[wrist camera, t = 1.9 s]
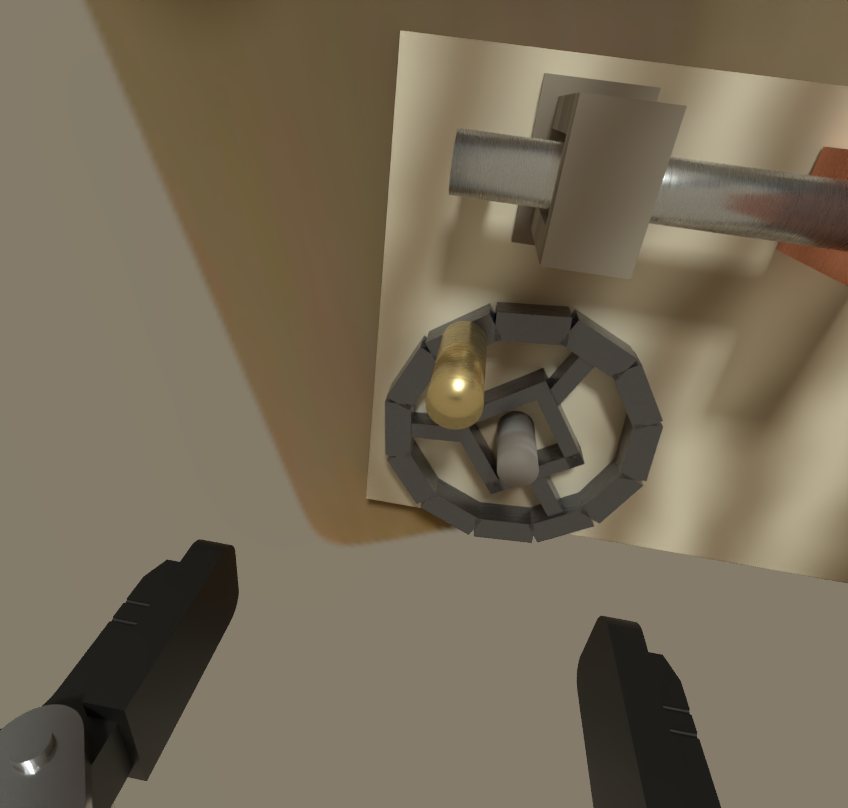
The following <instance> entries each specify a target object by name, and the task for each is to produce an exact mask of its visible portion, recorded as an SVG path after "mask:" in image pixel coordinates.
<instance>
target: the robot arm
mask: <svg viewBox="0 0 848 808" xmlns="http://www.w3.org/2000/svg"><path fill="white" fill-rule="evenodd" d="M238 594H239V588H238V577H237V567H236V555H235V549H234V547H233V546H232V545H227V544H222V543H217V542H211V541H206V540H197V541H196V542H194V543H193V544H192V546H191V547H190V548H189V550H188V551H187V553H186V554H185V556H184V557H183V559H182V560H181V561H180V562H177V561H172V560H166V561H165V562H163V563H162V564H160V565H159V566H158V567H156V568H155V569H154V570H152V571H151V572H149V573H148V574H147V575H145V576H144V577H143V578H142V579H141V581H140V582H139V583H138V585H137V586H136V588H135V589H134V590H133V591H132V593H131V594H130V595H129V597H128V598H127V601H126V603H123V604H122V606H121V607H120V608H119V610H118V611H117V612H116V614H115V615H114V616H113V620H112V621H111V622H109V623H108V624H107V626H106V627H105V628H104V629H103V631H102V632H101V633H100V635H99V636H98V637H97V639H96V640H95V641H94V643H93V644H92V645H91V646H90V648H89V649H88V650H87V652H86V653H85V654H84V656H83V657H82V658H81V660H80V661H79V662H78V664H77V665H76V666H75V668H74V669H73V670H72V672H71V673H70V674H69V675H68V677H67V678H66V679H65V681H64V682H63V683H62V685H61V686H60V687H59V689H58V690H57V691H56V692H55V693H54V695H53V696H52V697H51V698H50V699H49V700H48V701H47V702H46V703H45V704H44V705H43V706H41V707H38V708H35V709H32V710H30V711H28V712H26V713H24V714H22V715H20V716H18V717H17V718H15V719H14V720H12V721H11V722H10V723H8V724H7V725H6V726H5V727H3V728H2V729H0V808H115V806H114V801H115V799H116V797H117V795H118V793H119V792H120V790H121V788H122V786H123V784H124V783H125V781H126V779H127V777H130V778H135V779H139V780H144V781H147V779H148V778H149V776H150V774H151V772H152V770H153V768H154V766H155V764H156V763H157V761H158V759H159V757H160V755H161V753H162V751H163V749H164V747H165V745H166V743H167V741H168V740H169V738H170V736H171V734H172V732H173V730H174V728H175V726H176V724H177V722H178V720H179V718H180V717H181V715H182V713H183V711H184V709H185V707H186V705H187V703H188V701H189V699H190V698H191V696H192V694H193V692H194V690H195V688H196V686H197V684H198V682H199V680H200V679H201V677H202V675H203V673H204V671H205V669H206V667H207V665H208V663H209V661H210V659H211V658H212V655H213V654H214V652H215V650H216V648H217V646H218V644H219V642H220V640H221V638H222V636H223V634H224V633H225V631H226V629H227V627H228V625H229V623H230V621H231V619H232V617H233V614H234V612H235V609H236V605H237V601H238ZM577 689H578V697H579V704H580V712H581V719H582V726H583V733H584V741H585V748H586V756H587V763H588V770H589V778H590V785H591V792H592V799H593V806H594V808H721V806H720V803H719V800H718V796H717V793H716V790H715V787H714V784H713V781H712V778H711V774H710V771H709V768H708V765H707V762H706V759H705V756H704V753H703V750H702V747H701V743H700V740H699V739H698V738H697V731H696V728H695V724H694V721H693V718H692V715H690V714H689V706H688V703H687V699H686V696H685V693H684V690H683V687H682V684H681V681H680V679H679V678H678V676H677V675H676V674H675V672H674V671H673V669H672V668H671V666H670V665H669V663H668V662H667V661H666V659H665V658H664V656H663V655H660V654H655V653H650V652H648V650H647V646H646V642H645V639H644V635H643V632H642V629H641V627H640V625H639V624H638V623H636V622H632V621H627V620H622V619H616V618H611V617H606V616H600V617H599V618H598V619H597V621H596V623H595V626H594V628H593V630H592V632H591V634H590V637H589V639H588V641H587V643H586V645H585V648H584V650H583V652H582V654H581V656H580V659H579V663H578V669H577Z"/></svg>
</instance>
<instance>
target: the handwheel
mask: <svg viewBox="0 0 848 808" xmlns="http://www.w3.org/2000/svg"><path fill="white" fill-rule="evenodd" d="M497 341H507V342H521V343H534V344H547V345H561V346H564V347H566V348H567V349H569V350H570V351H572V352H571V353H570V355H569V356H568V357H567V358H566V359H565V360H564V362H563V363H562V364H561V365H560V366H559V367H558V368H557V370H556V371H555V372H554V373H553V374H552V375H551V376H550V378H548V376H547V374H546V372H545V370H544V368H541V369H539V370H536V371H534V372H531V373H529V374H526V375H524V376H521V377H519V378H517V379H514V380H512V381H509V382H507V383H504V384H502V385H499V386H497V387H494V388H492V389H489V390H487V391H484V390H485V373H486V356H487V345H490V344H492V343H494V342H497ZM594 367H596V368H598V369H599V370H601V371H602V372H604V373H605V374H607V375H608V376H610V377H611V378H613V380H614V382H615V385H616V387H617V390H618V392H619V395H620V397H621V399H622V402H623V404H624V407H625V409H626V412H627V413H626V417H625V421H624V425H623V428H622V432H621V436H620V440H619V444H618V448H617V451H616V455H615V459H614V460H613V461H612V462H611V463H609V464H608V465H607V466H606V467H605V468H604V469H603V470H602V471H601V472H600V473H599V474H598V475H597V476H596V477H595V478H593V479H592V480H591V481H590V482H589V483H588V484H587V485H586V486H585V487H584V488H583V489H582V490H581V491H580V492H578V493H575V494H572V495H569V496H565V497H562V498H560V496H559V494H558V492H557V490H556V488H555V486H554V484H553V482H552V480H551V478H550V476H549V475H552V474H555V473H559V472H562V471H565V470H568V469H571V468H574V467H577V466H580V465H583V464H585V463H584V459H583V454H582V450H581V447H580V445H579V443H578V440H577V438H576V436H575V434H574V432H573V430H572V428H571V425H570V423H569V421H568V419H567V417H566V415H565V413H564V410H563V408H562V406H561V403H562V402H563V401H564V400H565V398H566V397H567V396H568V395H569V394H570V393H571V392H572V391H573V390H574V389H575V388H576V386H577V385H578V384H579V383H580V382H581V381H582V380H583V379H584V378H585V377H586V376H587V374H588V373H589V372H590V371H591V370H592V369H593V368H594ZM429 383H430V385H429V389H428V393H427V396H426V402H425V404H426V410H427V413H421V412H415V402H416V401H417V399H418V398H419V396H420V395H421V394H422V392H423V391H424V389H425V388H426V387H427V385H428V384H429ZM386 397H387V398H386V400H385V455H388V459H387V461H388V462H389V464H390V465H391V467H392V468H393V470H394V471H395V473H396V474H397V476H398V477H399V479H400V480H401V482H402V483H403V485H404V486H405V488H406V489H407V491H408V492H409V494H410V495H411V497H412V498H413V500H414V501H415V503H416V504H418V503H421V506H420V508H422V509H424V510H426V511H427V512H429V513H431V514H433V515H434V516H436V517H438V518H440V519H442V520H443V521H445V522H447V523H449V524H450V525H452V526H454V527H456V528H458V529H459V530H461V531H463V532H465V533H467V534H470V532H472V531H473V529H474V536H476V537H485V538H493V539H503V540H512V541H520V542H529V543H531V542H532V538H533V535H534V537H535V539H536V541H537V542H541V541H544V540H548V539H551V538H555V537H558V536H561V535H565V534H569V533H573V532H576V531H580V530H583V529H587V528H590V527H594V523H593V520H594V521H596V522H597V523H599V524H600V523H601V522H602V521H603V520H604V519H605V518H607V517H608V516H609V515H610V514H611V513H612V512H614V511H615V510H616V509H617V508H618V507H619V506H620V505H622V504H623V503H624V502H625V501H626V500H627V499H629V498H630V497H631V496H632V495H633V494H634V493H635V492H637V491H638V490H639V489H640V488H641V487H642V486H643V484H642V481H647V478H648V474H649V471H650V468H651V465H652V461H653V458H654V455H655V452H656V448H657V445H658V442H659V439H660V435H661V432H662V429H663V425H662V423H661V422H662V421H663V420H662V417H661V414H660V412H659V409H658V406H657V404H656V401H655V398H654V396H653V393H652V390H651V388H650V385H649V382H648V380H647V377H646V374H645V372H644V369H643V366H642V364H641V362H640V360H639V358H638V357H637V355H636V353H635V351H633V350H632V348H631V346H630V345H628V344H627V343H625V342H624V341H622V340H621V339H619V338H618V337H616V336H615V335H613V334H612V333H610V332H609V331H607V330H606V329H604V328H603V327H601V326H600V325H598V324H597V323H596V322H594V321H593V320H591V319H590V318H588V317H587V316H585V315H584V314H582V313H581V312H579V311H578V310H576V309H575V310H574V311H573V312H572V313H571V312H570V309H569V307H568V306H553V305H538V304H524V303H509V302H497V307H496V314H495V312H494V310H493V308H492V306H491V304H490V303H489V304H487V305H485V306H483V307H480V308H478V309H476V310H474V311H472V312H470V313H467V314H465V315H463V316H461V317H459V318H457V319H454V320H452V321H450V322H448V323H446V324H444V325H441V326H439V327H437V328H435V329H433V330H431V331H429V333H428V336H427V337H426V336H423V338H422V339H421V341H420V342H419V344H418V345H417V347H416V348H415V350H414V351H413V353H412V354H411V356H410V357H409V358H408V360H407V361H406V363H405V364H404V366H403V367H402V369H401V370H400V372H399V373H398V375H397V376H396V378H395V379H394V381H393V382H392V384H391V386H390V389H389V391H388V394H387V396H386ZM535 400H537V402H538V404H539V406H540V408H541V410H542V412H543V414H544V416H545V418H546V420H547V422H548V424H549V427H550V429H551V431H552V433H553V435H554V437H555V439H556V441H557V443H556V444H553V445H550V446H547V447H544V448H542V449H539V450H537V456H538V465H539V474H538V477H537V478H536V480H535V481H534V482H533V483H531V486H532V488H533V490H534V492H535V494H536V495H537V497H538V499H539V501H540V503H541V504H539V505H536V506H533V507H522V506H513V505H503V504H494V503H484V502H479V501H477V500H476V499H474V498H472V497H470V496H469V495H467V494H465V493H463V492H462V491H460V490H458V489H457V488H455V487H453V486H451V485H450V484H448V483H446V482H444V481H443V480H441V479H439V478H438V476H437V475H436V473H435V472H434V470H433V469H432V467H431V465H430V464H429V462H428V461H427V459H426V457H425V456H424V454H423V453H422V451H421V449H420V448H419V446H418V445H417V443H416V441H415V440H414V438H423V439H433V440H444V441H454V442H461V444H462V446H463V447H464V449H465V451H466V452H467V454H468V456H469V458H470V459H471V461H472V463H473V464H474V466H475V468H476V470H477V471H478V473H479V475H480V476H481V478H482V480H483V482H484V483H485V485H486V487H487V488H488V490H489V492H490V494H494V493H497V492H500V491H503V490H506V489H509V488H512V487H513V486H509V485H507V484H505V483H504V482H502V481H501V480H500V478H499V477H498V474H497V460H496V458H495V457H494V455H493V453H492V451H491V449H490V448H489V446H488V444H487V442H486V440H485V439H484V437H483V435H482V433H481V432H480V430H479V428H478V426H477V424H476V423H477V422H480V421H483V420H485V419H488V418H491V417H493V416H496V415H498V414H501V413H504V412H506V411H509V410H512V409H514V408H517V407H520V406H522V405H525V404H527V403H530V402H533V401H535Z"/></svg>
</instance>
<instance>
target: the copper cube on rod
mask: <svg viewBox="0 0 848 808" xmlns="http://www.w3.org/2000/svg"><path fill="white" fill-rule="evenodd" d="M564 143H565V142H559V141H552V140H544V139H537V138H529V137H522V136H515V135H507V134H500V133H492V132H485V131H477V130H470V129H463V128H458V129H457V133H456V138H455V143H454V149H453V156H452V163H451V171H450V180H449V195H452V196H459V197H466V198H473V199H480V200H487V201H494V202H501V203H508V204H515V205H522V206H529V207H536V208H543V209H550V204H551V200H552V196H553V191H554V187H555V182H556V178H557V174H558V169H559V165H560V160H561V156H562V151H563V147H564ZM649 224H656V225H663V226H670V227H677V228H684V229H691V230H698V231H705V232H712V233H719V234H726V235H733V236H740V237H747V238H755V239H762V240H769V241H776V242H779V245H778V247H777V249H776V250H778V251H780V252H782V253H784V254H786V255H788V256H790V257H792V258H794V259H795V260H797V261H799V262H801V263H803V264H805V265H807V266H809V267H811V268H813V269H815V270H817V271H819V272H821V273H823V274H825V275H827V276H829V277H831V278H832V279H834V280H836V281H838V282H840V283H842V284H844V285H846V286H848V149H841V148H832V147H824V146H823V149H822V151H821V153H820V155H819V157H818V160H817V162H816V164H815V166H814V168H813V170H812V173H811V175H804V174H797V173H789V172H782V171H774V170H767V169H759V168H752V167H745V166H737V165H730V164H722V163H715V162H707V161H700V160H693V159H685V158H678V157H670V160H669V163H668V166H667V169H666V172H665V175H664V178H663V181H662V184H661V188H660V191H659V194H658V197H657V200H656V203H655V206H654V209H653V212H652V215H651V218H650V221H649Z"/></svg>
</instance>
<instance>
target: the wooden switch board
mask: <svg viewBox="0 0 848 808" xmlns="http://www.w3.org/2000/svg"><path fill="white" fill-rule="evenodd" d="M458 128H463V129H470V130H477V131H485V132H492V133H500V134H507V135H515V136H522V137H529V138H537V139H544V140H552V141H559V142H565V143H564V147H563V151H562V156H561V160H560V165H559V169H558V174H557V178H556V182H555V187H554V191H553V196H552V200H551V204H550V209H543V208H536V207H529V206H522V205H515V204H508V203H501V202H494V201H487V200H480V199H473V198H466V197H459V196H452V195H449V180H450V171H451V163H452V156H453V149H454V143H455V138H456V133H457V129H458ZM823 146H824V147H832V148H841V149H848V86H840V85H832V84H824V83H816V82H808V81H800V80H792V79H784V78H776V77H768V76H760V75H752V74H744V73H736V72H728V71H720V70H712V69H704V68H696V67H688V66H680V65H672V64H664V63H656V62H648V61H640V60H632V59H624V58H616V57H608V56H600V55H592V54H584V53H576V52H568V51H560V50H552V49H544V48H536V47H528V46H520V45H512V44H504V43H496V42H488V41H480V40H472V39H464V38H456V37H448V36H440V35H432V34H424V33H416V32H408V31H400V43H399V57H398V70H397V84H396V98H395V111H394V125H393V139H392V153H391V166H390V180H389V194H388V207H387V221H386V235H385V248H384V262H383V276H382V289H381V303H380V317H379V330H378V344H377V358H376V371H375V385H374V399H373V412H372V426H371V440H370V453H369V467H368V481H367V494H366V498H367V499H372V500H378V501H384V502H390V503H395V504H401V505H407V506H412V507H418V508H420V506H421V503H418V504H416V503H415V501H414V500H413V498H412V497H411V495H410V494H409V492H408V491H407V489H406V488H405V486H404V485H403V483H402V482H401V480H400V479H399V477H398V476H397V474H396V473H395V471H394V470H393V468H392V467H391V465H390V464H389V462H388V461H387V459H388V455H385V400H386V398H387V397H386V396H387V394H388V391H389V389H390V386H391V384H392V382H393V381H394V379H395V378H396V376H397V375H398V373H399V372H400V370H401V369H402V367H403V366H404V364H405V363H406V361H407V360H408V358H409V357H410V356H411V354H412V353H413V351H414V350H415V348H416V347H417V345H418V344H419V342H420V341H421V339H422V338H423V336H426V337H427V336H428V333H429V331H431V330H433V329H435V328H437V327H439V326H441V325H444V324H446V323H448V322H450V321H452V320H454V319H457V318H459V317H461V316H463V315H465V314H467V313H470V312H472V311H474V310H476V309H478V308H480V307H483V306H485V305H487V304H489V303H490V304H491V306H492V308H493V310H494V312H495V314H496V307H497V302H509V303H524V304H538V305H553V306H568V307H569V309H570V312H571V313H572V312H573V311H574V310H575V309H576V310H578V311H579V312H581V313H582V314H584V315H585V316H587V317H588V318H590V319H591V320H593V321H594V322H596V323H597V324H598V325H600V326H601V327H603V328H604V329H606V330H607V331H609V332H610V333H612V334H613V335H615V336H616V337H618V338H619V339H621V340H622V341H624V342H625V343H627V344H628V345H630V346H631V348H632V350H633V351H635V353H636V355H637V357H638V358H639V360H640V362H641V364H642V366H643V369H644V372H645V374H646V377H647V380H648V382H649V385H650V388H651V390H652V393H653V396H654V398H655V401H656V404H657V406H658V409H659V412H660V414H661V417H662V420H663V421H662V422H661V423H662V425H663V429H662V432H661V435H660V439H659V442H658V445H657V448H656V452H655V455H654V458H653V461H652V465H651V468H650V471H649V474H648V478H647V481H642V484H643V486H642V487H641V488H640V489H639V490H638V491H637V492H635V493H634V494H633V495H632V496H631V497H630V498H629V499H627V500H626V501H625V502H624V503H623V504H622V505H620V506H619V507H618V508H617V509H616V510H615V511H614V512H612V513H611V514H610V515H609V516H608V517H607V518H605V519H604V520H603V521H602V522H601V523H600V524H599V523H597V522H596V521H594V520H593V523H594V527H590V528H587V529H583V530H580V531H576V532H573V533H569V534H572V535H577V536H583V537H589V538H594V539H600V540H605V541H611V542H617V543H622V544H628V545H634V546H640V547H645V548H651V549H657V550H662V551H668V552H674V553H680V554H685V555H691V556H696V557H703V558H708V559H713V560H719V561H725V562H730V563H736V564H742V565H748V566H753V567H759V568H764V569H771V570H776V571H782V572H787V573H793V574H799V575H804V576H810V577H816V578H822V579H827V580H833V581H839V582H844V583H848V286H846V285H844V284H842V283H840V282H838V281H836V280H834V279H832V278H831V277H829V276H827V275H825V274H823V273H821V272H819V271H817V270H815V269H813V268H811V267H809V266H807V265H805V264H803V263H801V262H799V261H797V260H795V259H794V258H792V257H790V256H788V255H786V254H784V253H782V252H780V251H778V250H776V249H777V247H778V245H779V242H776V241H769V240H762V239H755V238H747V237H740V236H733V235H726V234H719V233H712V232H705V231H698V230H691V229H684V228H677V227H670V226H663V225H656V224H649V221H650V218H651V215H652V212H653V209H654V206H655V203H656V200H657V197H658V194H659V191H660V188H661V184H662V181H663V178H664V175H665V172H666V169H667V166H668V163H669V160H670V157H678V158H685V159H693V160H700V161H707V162H715V163H722V164H730V165H737V166H745V167H752V168H759V169H767V170H774V171H782V172H789V173H797V174H804V175H811V173H812V170H813V168H814V166H815V164H816V162H817V160H818V157H819V155H820V153H821V151H822V149H823ZM571 352H572V351H570V350H569V349H567V348H566V347H564V346H561V345H547V344H534V343H521V342H507V341H497V342H494V343H492V344H490V345H487V356H486V373H485V390H484V391H487V390H489V389H492V388H494V387H497V386H499V385H502V384H504V383H507V382H509V381H512V380H514V379H517V378H519V377H521V376H524V375H526V374H529V373H531V372H534V371H536V370H539V369H541V368H544V370H545V372H546V374H547V376H548V378H550V376H551V375H552V374H553V373H554V372H555V371H556V370H557V368H558V367H559V366H560V365H561V364H562V363H563V362H564V360H565V359H566V358H567V357H568V356H569V355H570V353H571ZM429 385H430V383H429V384H428V385H427V387H426V388H425V389H424V391H423V392H422V394H421V395H420V396H419V398H418V399H417V401H416V402H415V412H421V413H427V410H426V404H425V402H426V396H427V393H428V389H429ZM561 406H562V408H563V410H564V413H565V415H566V417H567V419H568V421H569V423H570V425H571V428H572V430H573V432H574V434H575V436H576V438H577V440H578V443H579V445H580V447H581V450H582V454H583V459H584V463H585V464H583V465H580V466H577V467H574V468H571V469H568V470H565V471H562V472H559V473H555V474H552V475H549V476H550V478H551V480H552V482H553V484H554V486H555V488H556V490H557V492H558V494H559V496H560V498H562V497H565V496H569V495H572V494H575V493H578V492H580V491H581V490H582V489H583V488H584V487H585V486H586V485H587V484H588V483H589V482H590V481H591V480H592V479H593V478H595V477H596V476H597V475H598V474H599V473H600V472H601V471H602V470H603V469H604V468H605V467H606V466H607V465H608V464H609V463H611V462H612V461H613V460H614V459H615V455H616V451H617V448H618V444H619V440H620V436H621V432H622V428H623V425H624V421H625V417H626V413H627V412H626V409H625V407H624V404H623V402H622V399H621V397H620V395H619V392H618V390H617V387H616V385H615V382H614V380H613V378H611V377H610V376H608V375H607V374H605V373H604V372H602V371H601V370H599V369H598V368H596V367H594V368H593V369H592V370H591V371H590V372H589V373H588V374H587V376H586V377H585V378H584V379H583V380H582V381H581V382H580V383H579V384H578V385H577V386H576V388H575V389H574V390H573V391H572V392H571V393H570V394H569V395H568V396H567V397H566V398H565V400H564V401H563V402H562V403H561ZM476 424H477V426H478V428H479V430H480V432H481V433H482V435H483V437H484V439H485V440H486V442H487V444H488V446H489V448H490V449H491V451H492V453H493V455H494V457H495V458H496V460H497V474H498V477H499V478H500V480H501V481H502V482H504V483H505V484H507V485H509V486H513V487H512V488H509V489H506V490H503V491H500V492H497V493H494V494H490V492H489V490H488V488H487V487H486V485H485V483H484V482H483V480H482V478H481V476H480V475H479V473H478V471H477V470H476V468H475V466H474V464H473V463H472V461H471V459H470V458H469V456H468V454H467V452H466V451H465V449H464V447H463V446H462V444H461V442H454V441H444V440H433V439H423V438H414V440H415V441H416V443H417V445H418V446H419V448H420V449H421V451H422V453H423V454H424V456H425V457H426V459H427V461H428V462H429V464H430V465H431V467H432V469H433V470H434V472H435V473H436V475H437V476H438V478H439V479H441V480H443V481H444V482H446V483H448V484H450V485H451V486H453V487H455V488H457V489H458V490H460V491H462V492H463V493H465V494H467V495H469V496H470V497H472V498H474V499H476V500H477V501H479V502H484V503H494V504H503V505H513V506H522V507H533V506H536V505H539V504H541V503H540V501H539V499H538V497H537V495H536V494H535V492H534V490H533V488H532V486H531V483H533V482H534V481H535V480H536V478H537V477H538V474H539V465H538V456H537V450H539V449H542V448H544V447H547V446H550V445H553V444H556V443H557V441H556V439H555V437H554V435H553V433H552V431H551V429H550V427H549V424H548V422H547V420H546V418H545V416H544V414H543V412H542V410H541V408H540V406H539V404H538V402H537V400H535V401H533V402H530V403H527V404H525V405H522V406H520V407H517V408H514V409H512V410H509V411H506V412H504V413H501V414H498V415H496V416H493V417H491V418H488V419H485V420H483V421H480V422H477V423H476Z"/></svg>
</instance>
